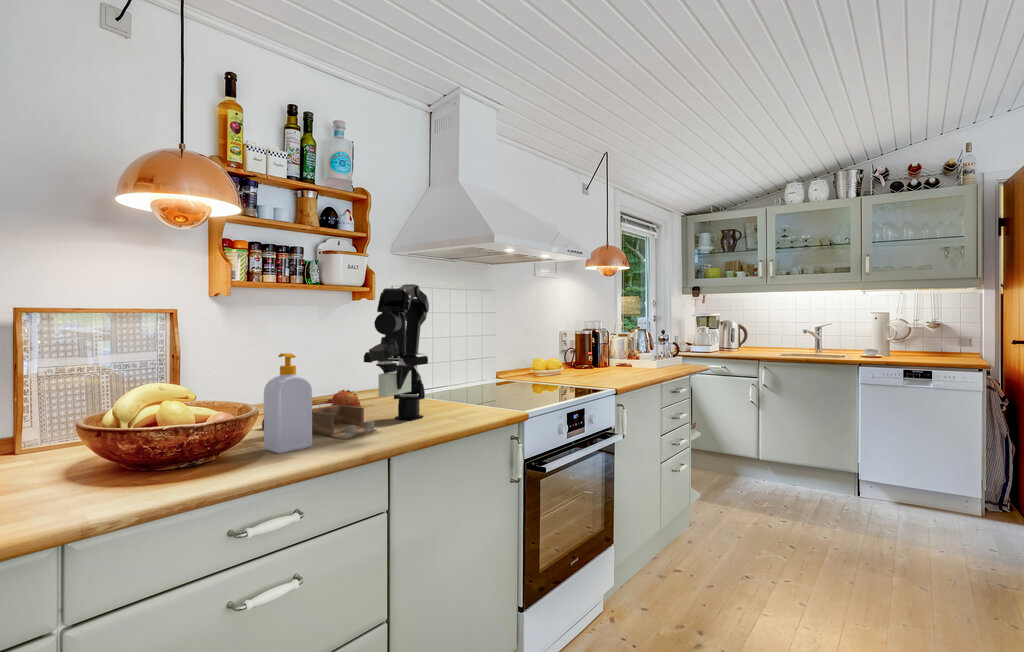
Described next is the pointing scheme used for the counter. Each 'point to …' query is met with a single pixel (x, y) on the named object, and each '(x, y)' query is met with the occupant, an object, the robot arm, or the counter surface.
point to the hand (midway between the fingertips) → (395, 389)
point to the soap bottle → (287, 410)
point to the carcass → (340, 422)
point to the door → (393, 384)
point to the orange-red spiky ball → (345, 399)
